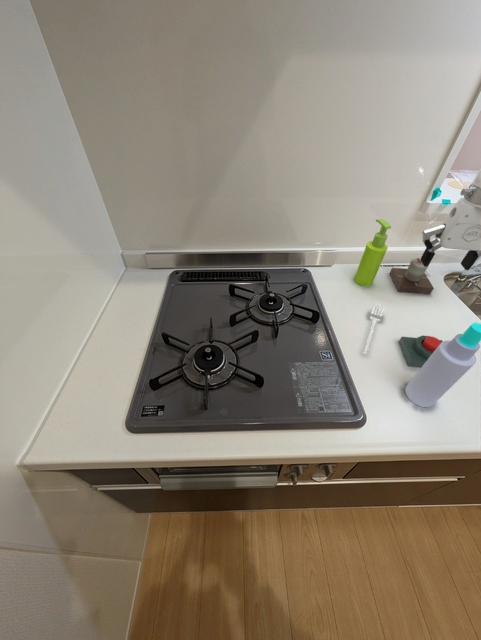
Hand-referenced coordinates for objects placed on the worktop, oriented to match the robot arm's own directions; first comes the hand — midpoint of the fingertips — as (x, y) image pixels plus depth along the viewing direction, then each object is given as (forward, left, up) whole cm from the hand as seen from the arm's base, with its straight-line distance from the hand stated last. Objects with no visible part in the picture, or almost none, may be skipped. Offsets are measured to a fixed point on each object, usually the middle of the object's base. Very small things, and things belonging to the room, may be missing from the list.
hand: (443, 265), depth 70 cm
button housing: (+3, +16, -16) cm, 23 cm away
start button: (+3, +16, -13) cm, 21 cm away
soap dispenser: (+12, -15, -17) cm, 25 cm away
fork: (+14, +8, -17) cm, 24 cm away
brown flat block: (-3, -15, -16) cm, 22 cm away
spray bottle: (+8, +28, -17) cm, 34 cm away
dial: (-3, -15, -14) cm, 20 cm away
